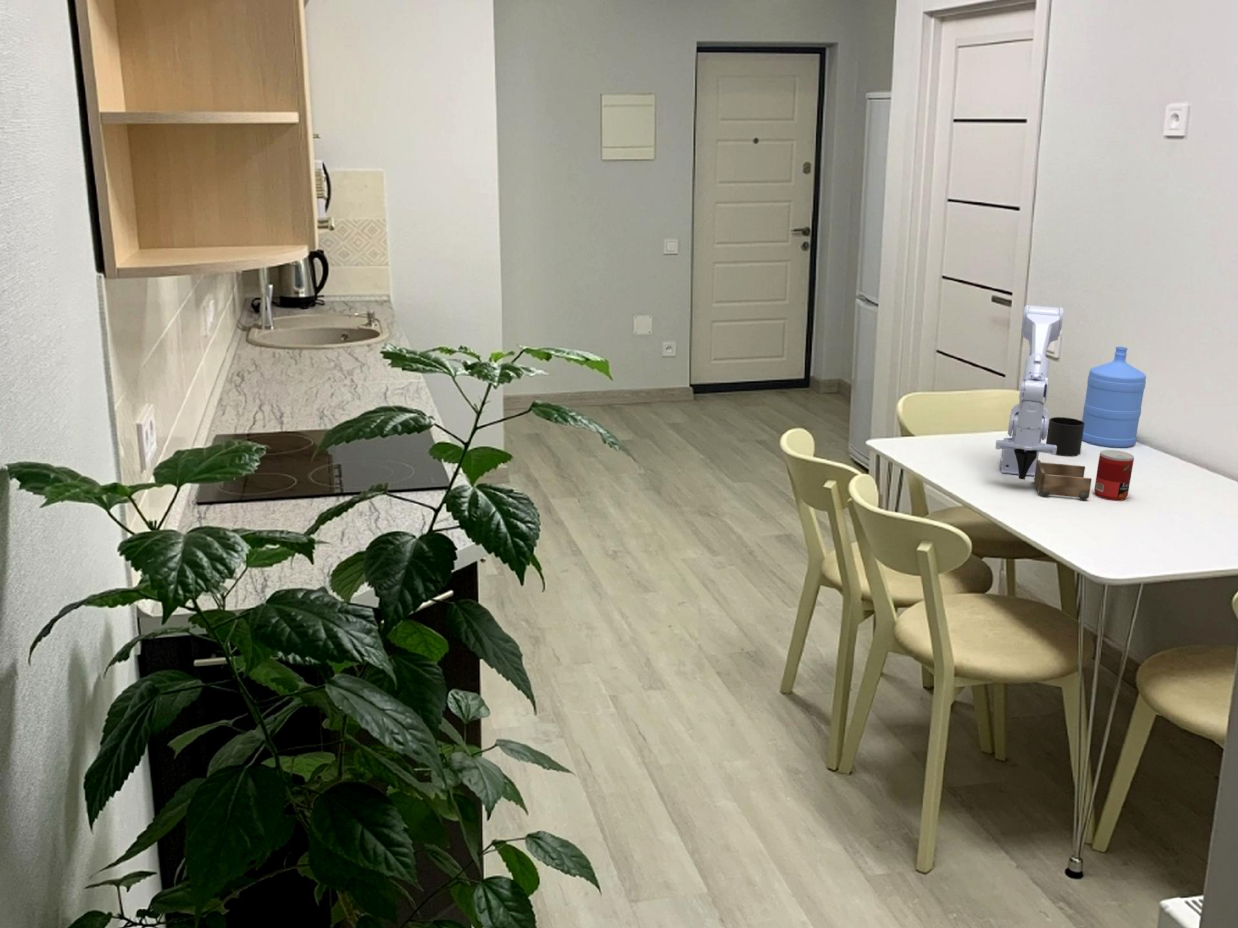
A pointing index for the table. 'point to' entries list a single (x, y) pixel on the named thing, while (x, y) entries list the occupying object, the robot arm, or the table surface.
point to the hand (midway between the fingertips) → (1021, 478)
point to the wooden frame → (1061, 480)
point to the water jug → (1113, 403)
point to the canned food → (1113, 474)
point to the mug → (1065, 435)
